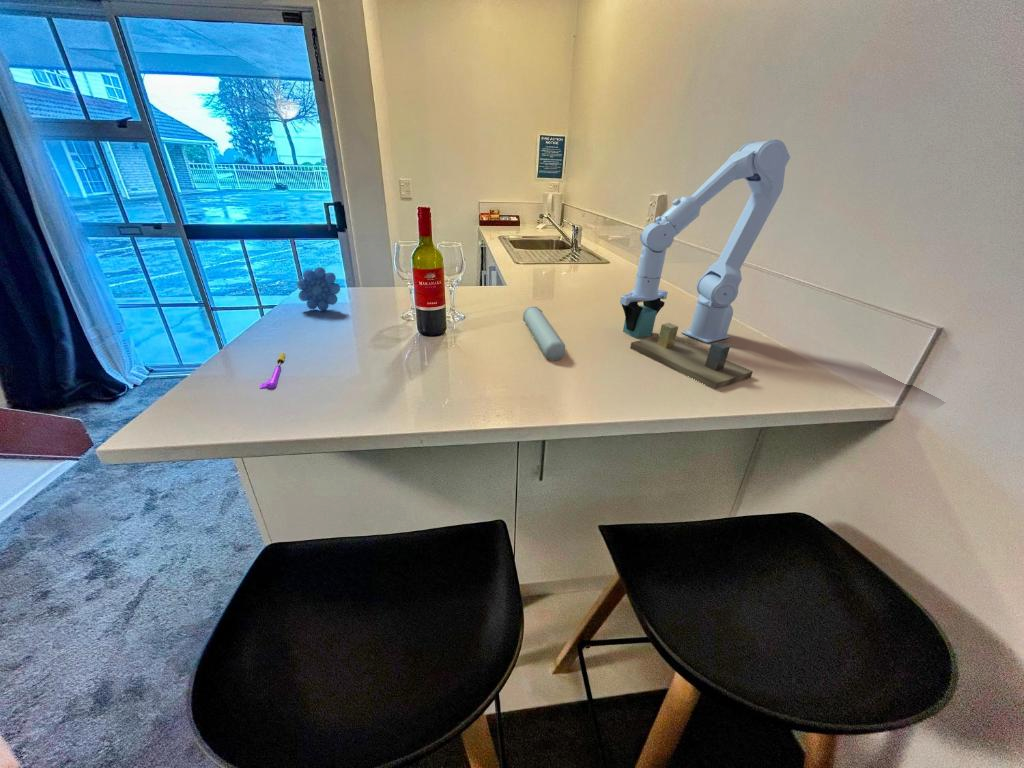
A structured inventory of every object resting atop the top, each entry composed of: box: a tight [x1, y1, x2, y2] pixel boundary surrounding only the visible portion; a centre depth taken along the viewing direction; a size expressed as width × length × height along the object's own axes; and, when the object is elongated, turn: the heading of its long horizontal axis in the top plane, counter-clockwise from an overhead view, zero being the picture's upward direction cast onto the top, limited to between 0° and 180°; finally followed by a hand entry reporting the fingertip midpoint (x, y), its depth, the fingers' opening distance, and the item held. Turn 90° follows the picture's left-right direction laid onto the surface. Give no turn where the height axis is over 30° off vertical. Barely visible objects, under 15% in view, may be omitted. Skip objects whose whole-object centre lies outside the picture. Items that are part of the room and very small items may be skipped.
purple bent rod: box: [259, 352, 286, 390], centre depth 79 cm, size 3×1×16 cm
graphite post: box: [705, 341, 731, 371], centre depth 83 cm, size 3×3×5 cm
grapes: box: [296, 266, 341, 312], centre depth 109 cm, size 12×7×12 cm, turn 90°
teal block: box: [622, 304, 658, 339], centre depth 103 cm, size 5×5×7 cm
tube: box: [522, 305, 566, 361], centre depth 97 cm, size 5×5×25 cm
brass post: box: [657, 322, 679, 348], centre depth 93 cm, size 3×3×5 cm
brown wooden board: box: [629, 335, 754, 391], centre depth 90 cm, size 12×23×2 cm, turn 30°
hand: (638, 328), depth 104 cm, fingers closed on teal block, 5 cm apart
